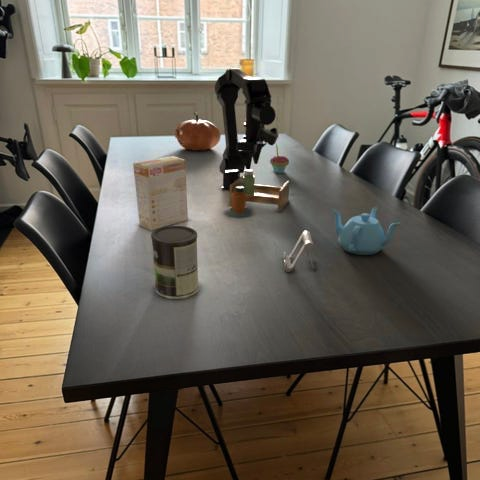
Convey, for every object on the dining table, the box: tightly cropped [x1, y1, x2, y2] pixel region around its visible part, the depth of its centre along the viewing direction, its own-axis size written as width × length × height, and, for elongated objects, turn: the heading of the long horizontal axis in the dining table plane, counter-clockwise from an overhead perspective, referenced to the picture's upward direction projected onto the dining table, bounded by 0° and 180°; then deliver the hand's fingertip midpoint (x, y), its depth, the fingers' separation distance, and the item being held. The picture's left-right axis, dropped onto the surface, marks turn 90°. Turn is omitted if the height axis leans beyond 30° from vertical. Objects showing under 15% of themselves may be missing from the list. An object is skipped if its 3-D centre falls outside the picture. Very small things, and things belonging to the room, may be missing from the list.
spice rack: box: [229, 175, 291, 213], centre depth 167 cm, size 19×14×8 cm
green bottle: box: [242, 168, 256, 194], centre depth 166 cm, size 4×4×8 cm
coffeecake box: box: [132, 155, 189, 231], centre depth 144 cm, size 15×7×20 cm, turn 134°
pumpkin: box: [174, 111, 222, 152], centre depth 245 cm, size 25×25×19 cm
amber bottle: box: [232, 186, 247, 213], centre depth 156 cm, size 4×4×8 cm
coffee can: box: [150, 225, 199, 300], centre depth 106 cm, size 10×10×14 cm
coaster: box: [225, 206, 253, 218], centre depth 159 cm, size 9×9×1 cm
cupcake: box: [269, 143, 290, 174], centre depth 206 cm, size 9×8×12 cm
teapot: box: [331, 206, 402, 256], centre depth 132 cm, size 15×15×10 cm
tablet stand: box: [282, 230, 315, 273], centre depth 121 cm, size 9×8×8 cm
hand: (252, 166), depth 164 cm, fingers open, 9 cm apart
